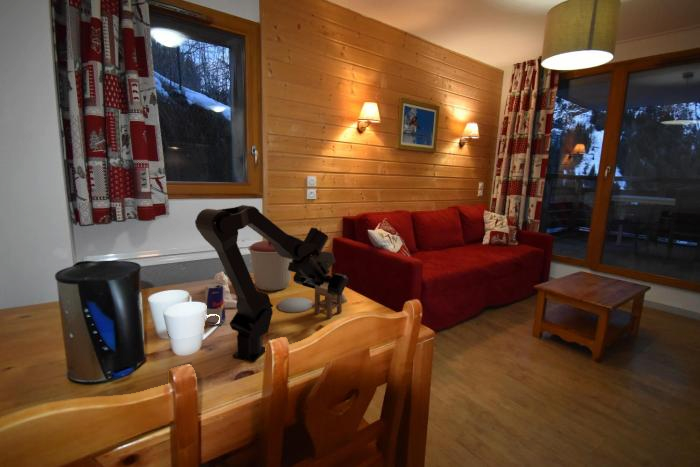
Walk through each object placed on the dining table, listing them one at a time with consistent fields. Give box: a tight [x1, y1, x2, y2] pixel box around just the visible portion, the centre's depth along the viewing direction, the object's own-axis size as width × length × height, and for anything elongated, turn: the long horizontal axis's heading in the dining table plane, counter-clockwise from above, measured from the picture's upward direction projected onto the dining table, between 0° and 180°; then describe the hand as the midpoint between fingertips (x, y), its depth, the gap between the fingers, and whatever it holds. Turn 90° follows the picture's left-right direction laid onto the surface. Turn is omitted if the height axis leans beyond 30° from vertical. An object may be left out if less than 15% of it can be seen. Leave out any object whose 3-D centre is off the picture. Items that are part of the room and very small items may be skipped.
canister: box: [247, 240, 292, 292], centre depth 133 cm, size 18×18×21 cm
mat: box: [277, 297, 314, 314], centre depth 117 cm, size 12×12×1 cm
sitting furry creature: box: [214, 271, 237, 309], centre depth 115 cm, size 10×9×12 cm
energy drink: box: [204, 282, 227, 326], centre depth 102 cm, size 5×5×12 cm
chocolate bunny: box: [332, 291, 348, 305], centre depth 121 cm, size 6×8×10 cm
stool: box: [314, 283, 343, 319], centre depth 111 cm, size 6×6×10 cm
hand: (331, 291), depth 112 cm, fingers closed on stool, 6 cm apart
